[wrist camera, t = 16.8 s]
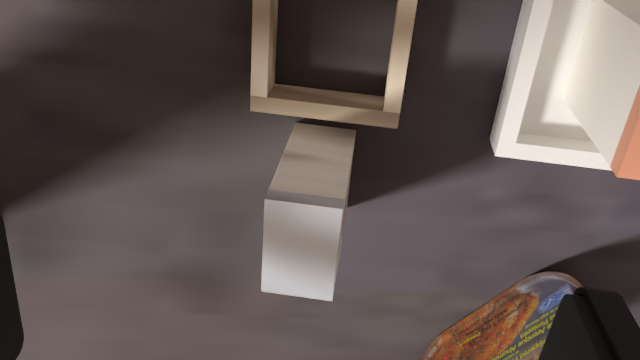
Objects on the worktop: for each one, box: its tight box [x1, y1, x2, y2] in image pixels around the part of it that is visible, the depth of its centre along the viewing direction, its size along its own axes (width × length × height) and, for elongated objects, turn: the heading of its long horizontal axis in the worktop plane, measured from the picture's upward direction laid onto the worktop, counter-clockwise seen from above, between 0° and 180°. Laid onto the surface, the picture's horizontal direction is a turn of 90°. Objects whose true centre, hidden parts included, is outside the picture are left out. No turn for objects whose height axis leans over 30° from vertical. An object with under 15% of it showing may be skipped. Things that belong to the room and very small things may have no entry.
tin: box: [420, 271, 583, 360], centre depth 40 cm, size 15×3×8 cm, turn 137°
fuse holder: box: [250, 0, 418, 301], centre depth 30 cm, size 26×9×10 cm, turn 175°
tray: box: [490, 0, 612, 170], centre depth 33 cm, size 13×11×2 cm
